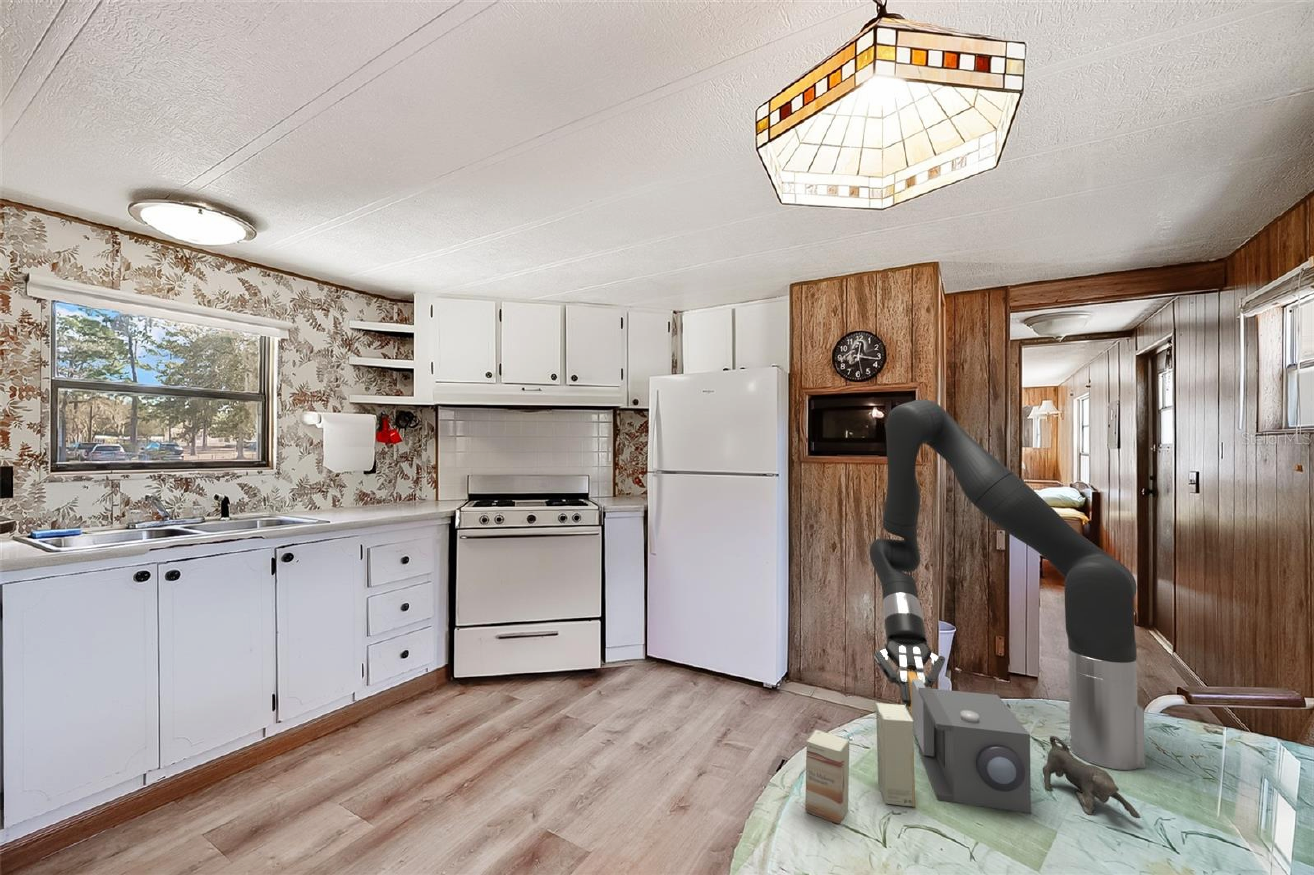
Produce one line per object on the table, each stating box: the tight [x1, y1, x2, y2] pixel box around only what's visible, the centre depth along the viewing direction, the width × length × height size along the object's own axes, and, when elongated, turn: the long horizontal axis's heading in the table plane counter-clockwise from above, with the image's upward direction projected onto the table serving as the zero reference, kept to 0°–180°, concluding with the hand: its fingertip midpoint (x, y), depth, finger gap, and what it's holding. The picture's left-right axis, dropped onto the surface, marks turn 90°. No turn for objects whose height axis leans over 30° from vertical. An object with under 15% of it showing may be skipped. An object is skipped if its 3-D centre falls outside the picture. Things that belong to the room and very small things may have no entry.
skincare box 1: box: [804, 729, 850, 824], centre depth 82 cm, size 5×4×10 cm
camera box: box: [918, 687, 1032, 814], centre depth 89 cm, size 12×15×12 cm
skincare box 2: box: [875, 702, 916, 807], centre depth 86 cm, size 6×4×12 cm
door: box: [907, 669, 934, 756], centre depth 103 cm, size 2×17×9 cm, turn 166°
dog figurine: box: [1042, 735, 1141, 819], centre depth 84 cm, size 12×6×7 cm, turn 10°
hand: (915, 705), depth 106 cm, fingers closed on door
